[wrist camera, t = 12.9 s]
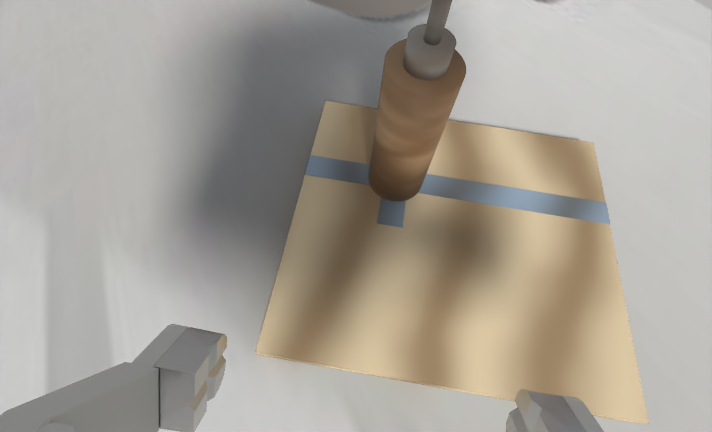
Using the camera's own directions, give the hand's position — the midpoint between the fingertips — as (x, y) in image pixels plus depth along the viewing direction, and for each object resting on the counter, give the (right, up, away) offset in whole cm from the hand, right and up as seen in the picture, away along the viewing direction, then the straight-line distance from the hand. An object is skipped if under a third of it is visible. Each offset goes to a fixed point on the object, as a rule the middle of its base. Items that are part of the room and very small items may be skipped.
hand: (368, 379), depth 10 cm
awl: (+2, +7, +14) cm, 16 cm away
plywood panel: (+6, +3, +13) cm, 15 cm away
